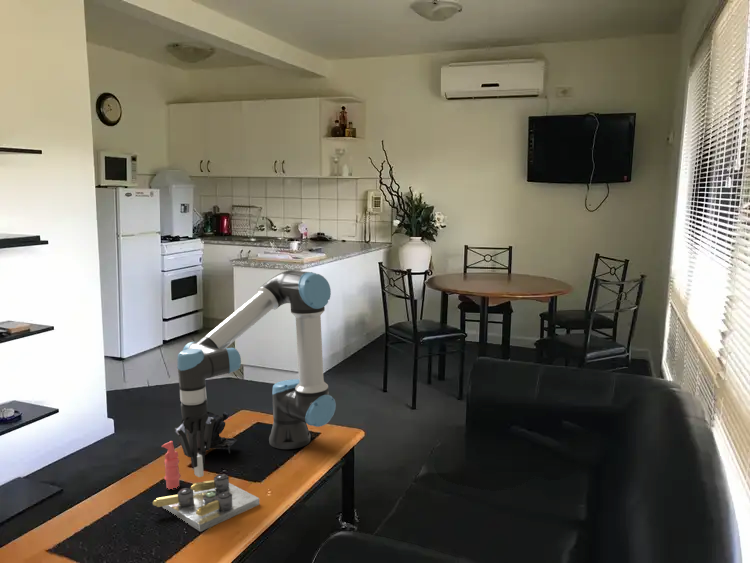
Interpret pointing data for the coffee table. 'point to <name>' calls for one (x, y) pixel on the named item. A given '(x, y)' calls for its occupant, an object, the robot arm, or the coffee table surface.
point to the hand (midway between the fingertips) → (199, 475)
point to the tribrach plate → (239, 504)
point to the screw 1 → (176, 498)
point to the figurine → (171, 466)
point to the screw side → (217, 504)
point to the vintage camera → (219, 432)
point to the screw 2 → (213, 484)
